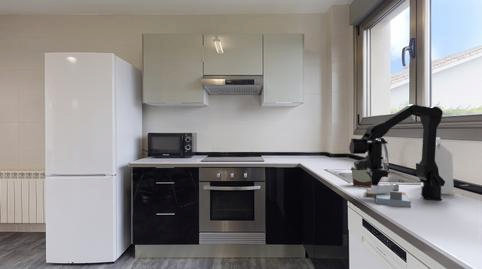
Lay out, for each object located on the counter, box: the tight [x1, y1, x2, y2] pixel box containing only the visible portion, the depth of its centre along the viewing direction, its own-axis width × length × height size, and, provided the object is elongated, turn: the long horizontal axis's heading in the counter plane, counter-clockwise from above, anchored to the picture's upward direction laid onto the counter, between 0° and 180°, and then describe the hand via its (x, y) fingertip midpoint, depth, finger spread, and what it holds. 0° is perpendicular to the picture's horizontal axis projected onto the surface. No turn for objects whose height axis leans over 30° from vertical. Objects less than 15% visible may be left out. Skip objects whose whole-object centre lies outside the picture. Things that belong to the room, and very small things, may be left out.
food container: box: [350, 165, 372, 188], centre depth 151 cm, size 12×6×10 cm, turn 65°
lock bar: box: [370, 182, 400, 194], centre depth 124 cm, size 13×4×3 cm, turn 107°
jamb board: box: [365, 188, 407, 198], centre depth 128 cm, size 16×9×2 cm, turn 65°
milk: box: [420, 137, 455, 195], centre depth 139 cm, size 12×12×26 cm
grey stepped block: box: [375, 191, 412, 208], centre depth 117 cm, size 12×10×5 cm
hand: (374, 188), depth 125 cm, fingers closed
